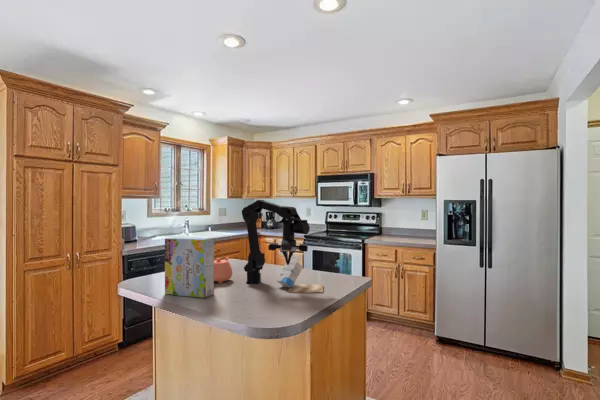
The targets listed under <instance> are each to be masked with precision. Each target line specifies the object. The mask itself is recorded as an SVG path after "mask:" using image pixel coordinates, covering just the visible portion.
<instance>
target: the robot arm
mask: <svg viewBox="0 0 600 400" xmlns="http://www.w3.org/2000/svg"><path fill="white" fill-rule="evenodd" d="M263 210H265V211H269V212H272V213H275V214H277V215H278V216H279V217H280V218H282V219H281V220H280V221H279V224H282V239H281V244H279V243H278V242H270V243H269V244H268V251H276V249H277V250H280V251H279V252H280V253H282V254H283V256H284V259H285V264H286V263H287V265H289V263H290V260H291V257H292V256H293V255H294V253H296V252H297V250H299V252H308V250H309V246H308V244H307V243H299V245H297V240H296V239H295V235H296V234H299V235H309V233H310V228H311V227H310V224H309V222H308V219H301V217H300V215H299V213H298V211H297V208H296V207H295V206H287V205H279V204H276V203H272V202H269V201H267V200H264V199H257V200H255V201H254V202H252V203H250V204H248V205H246V206H244V207H243V208H242V210H241V215H242V219H243V221H244V222H245V224H246V228H247V229H246V230H247V237H248V244H249V254H248V255H247V263H246V264H245V265H244V267H243V269H244V272H246V282H245V283H246V284H250V285H251V284H253V285H254V284H256V285H258V284H260V282H262V273H261V270H263V267H264V265H265V261H266V258H265V253H264V252H263V253H262V252H261V250H260V249H261V248H260V243H259V235H258V234H259V233H258V227H257V222H258V219H259V214H260V213H261V212H262V211H263Z"/></svg>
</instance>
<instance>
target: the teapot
mask: <svg viewBox="0 0 600 400" xmlns="http://www.w3.org/2000/svg"><path fill="white" fill-rule="evenodd" d="M229 258H230V256H226V257H225V259H222V257H217V258H215V259H214V282H218V283H217V284H223V283H224V282H228V281H229V280H230V279H231V278H232V277H233V269H232V265H231V263H230V261H229Z"/></svg>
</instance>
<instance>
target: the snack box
mask: <svg viewBox="0 0 600 400" xmlns="http://www.w3.org/2000/svg"><path fill="white" fill-rule="evenodd" d="M214 260H215V239H214V237H196V236H195V237H189V236H187V237H186V236H185V237H181V236H180V237H179V236H178V237H177V236H176V237H175V236H174V237H166V238H164V295H166V294H171V295H170V296H181V297H190V298H191V297H192V298H200V299H201V298H202V299H204V298H206V297H207V298H208V297H210V296H212V295H214V293H215V281H214Z"/></svg>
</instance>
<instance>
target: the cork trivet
mask: <svg viewBox="0 0 600 400" xmlns="http://www.w3.org/2000/svg"><path fill="white" fill-rule="evenodd" d="M288 288H289V289H288V291H287V292H288V293H297V294H298V293H301V294H304V293H305V294H311V293H312V294H324V284H307V283H306V284H302V283H301V284H300V283H299V284H296V283H294V285H293V287H292V288H291V287H288Z"/></svg>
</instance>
